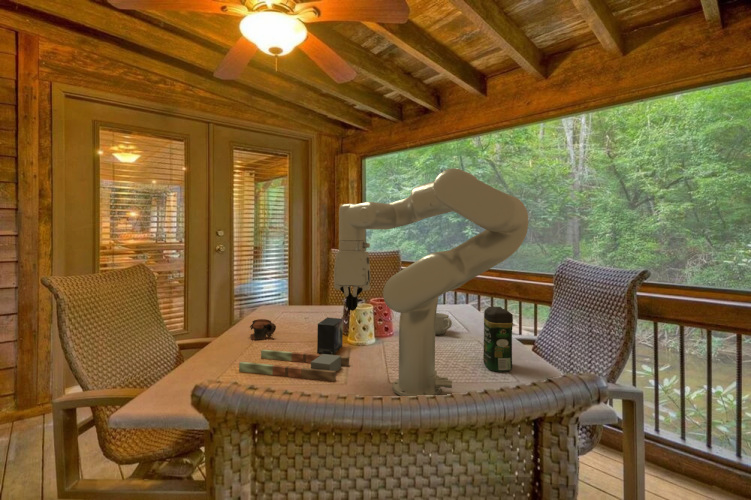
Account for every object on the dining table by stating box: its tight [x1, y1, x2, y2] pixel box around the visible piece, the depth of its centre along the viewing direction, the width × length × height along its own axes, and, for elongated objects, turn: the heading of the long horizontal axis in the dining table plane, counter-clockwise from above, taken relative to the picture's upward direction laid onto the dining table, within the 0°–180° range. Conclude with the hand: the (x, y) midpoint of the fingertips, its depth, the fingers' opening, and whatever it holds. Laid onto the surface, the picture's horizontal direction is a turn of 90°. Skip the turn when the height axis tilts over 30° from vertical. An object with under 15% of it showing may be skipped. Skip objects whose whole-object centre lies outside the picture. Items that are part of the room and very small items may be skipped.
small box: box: [316, 317, 344, 355], centre depth 133 cm, size 11×6×10 cm, turn 168°
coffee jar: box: [482, 306, 514, 373], centre depth 116 cm, size 10×8×19 cm
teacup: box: [435, 312, 453, 336], centre depth 155 cm, size 14×11×8 cm
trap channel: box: [238, 349, 350, 382], centre depth 115 cm, size 30×13×2 cm, turn 76°
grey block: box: [310, 354, 342, 373], centre depth 113 cm, size 6×8×4 cm
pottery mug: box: [249, 318, 277, 341], centre depth 149 cm, size 12×10×8 cm
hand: (351, 309), depth 110 cm, fingers closed
